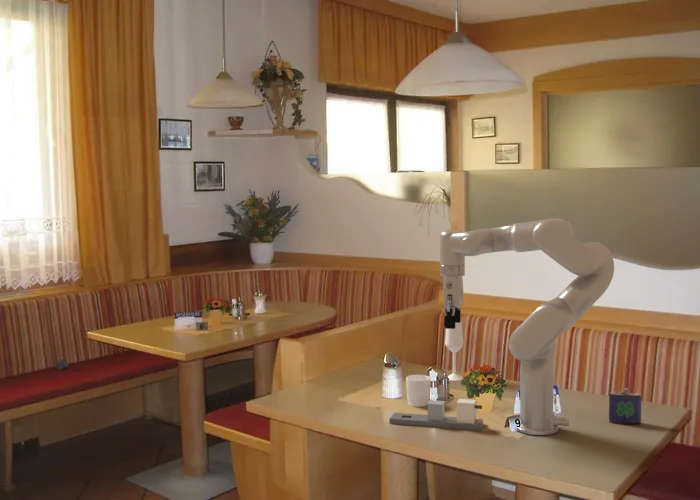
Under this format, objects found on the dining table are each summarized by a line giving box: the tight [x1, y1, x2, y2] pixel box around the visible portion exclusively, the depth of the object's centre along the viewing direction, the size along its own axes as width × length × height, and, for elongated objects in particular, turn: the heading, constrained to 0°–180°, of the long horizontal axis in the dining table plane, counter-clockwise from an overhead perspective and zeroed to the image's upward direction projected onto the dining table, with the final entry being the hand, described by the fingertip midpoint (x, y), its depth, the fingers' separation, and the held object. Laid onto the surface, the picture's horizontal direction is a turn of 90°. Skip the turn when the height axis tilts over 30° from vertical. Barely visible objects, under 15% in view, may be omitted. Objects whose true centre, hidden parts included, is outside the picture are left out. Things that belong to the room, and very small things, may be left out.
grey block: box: [427, 399, 446, 421], centre depth 234 cm, size 4×4×6 cm
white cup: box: [405, 374, 432, 408], centre depth 254 cm, size 8×8×10 cm
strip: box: [389, 412, 484, 432], centre depth 234 cm, size 27×6×4 cm, turn 73°
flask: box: [608, 387, 642, 426], centre depth 236 cm, size 9×3×11 cm, turn 78°
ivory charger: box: [456, 398, 483, 424], centre depth 231 cm, size 7×4×8 cm, turn 72°
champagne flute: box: [444, 321, 464, 382], centre depth 289 cm, size 7×7×24 cm
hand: (452, 325), depth 245 cm, fingers open, 9 cm apart
